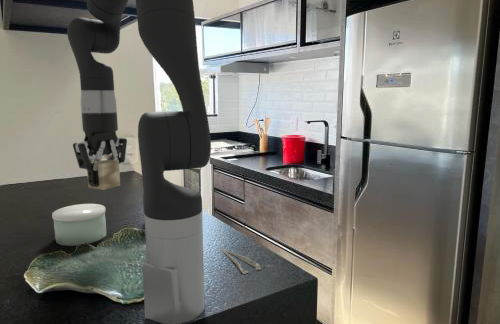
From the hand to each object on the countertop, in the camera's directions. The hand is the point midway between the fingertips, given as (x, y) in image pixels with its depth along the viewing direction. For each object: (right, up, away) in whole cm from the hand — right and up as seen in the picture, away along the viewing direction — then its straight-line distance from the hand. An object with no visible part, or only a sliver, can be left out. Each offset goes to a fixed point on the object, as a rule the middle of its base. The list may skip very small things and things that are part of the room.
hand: (104, 183), depth 88 cm
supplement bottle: (+7, -13, +19) cm, 24 cm away
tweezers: (+30, -17, -4) cm, 35 cm away
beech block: (0, -1, 0) cm, 1 cm away
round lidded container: (-9, -14, +9) cm, 19 cm away
